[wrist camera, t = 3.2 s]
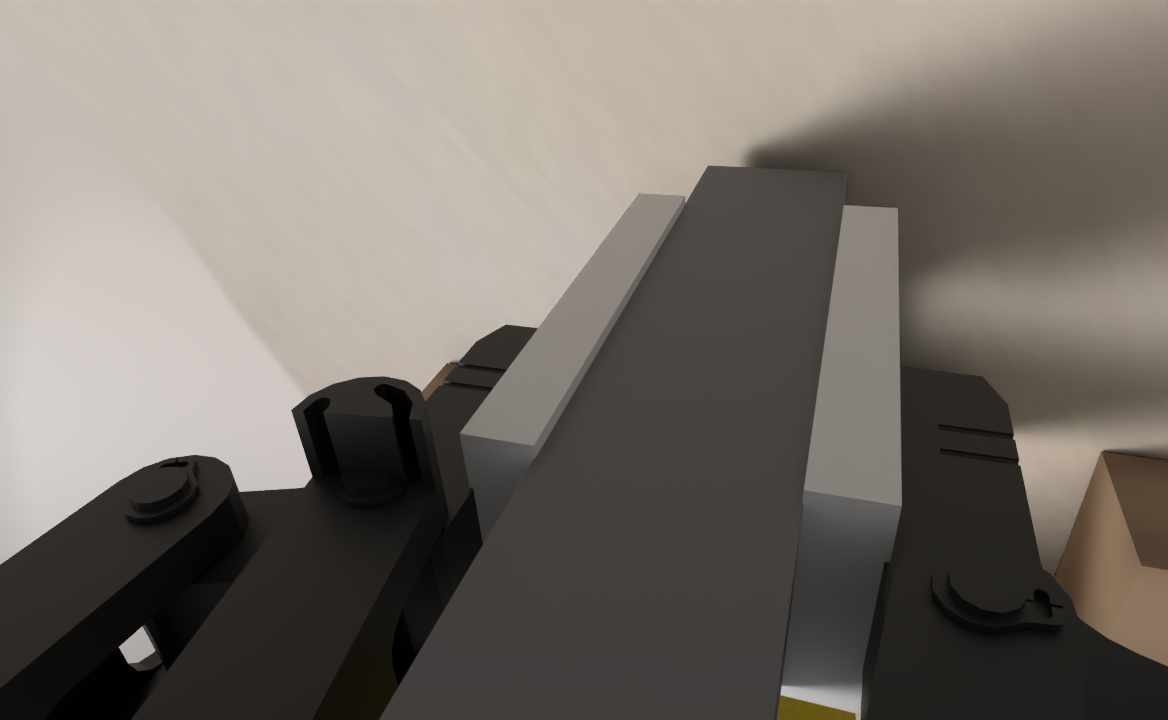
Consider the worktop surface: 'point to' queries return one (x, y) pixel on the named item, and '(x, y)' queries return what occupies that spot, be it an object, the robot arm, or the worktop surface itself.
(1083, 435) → the worktop surface
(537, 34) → the worktop surface
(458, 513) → the robot arm
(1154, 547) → the lane
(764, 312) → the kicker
